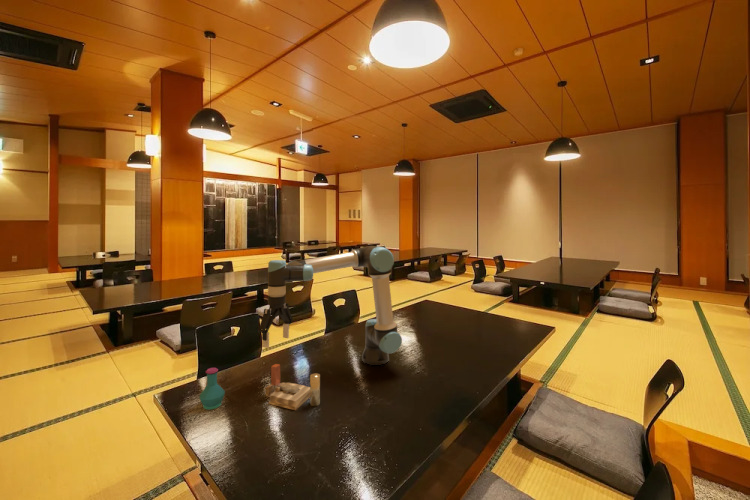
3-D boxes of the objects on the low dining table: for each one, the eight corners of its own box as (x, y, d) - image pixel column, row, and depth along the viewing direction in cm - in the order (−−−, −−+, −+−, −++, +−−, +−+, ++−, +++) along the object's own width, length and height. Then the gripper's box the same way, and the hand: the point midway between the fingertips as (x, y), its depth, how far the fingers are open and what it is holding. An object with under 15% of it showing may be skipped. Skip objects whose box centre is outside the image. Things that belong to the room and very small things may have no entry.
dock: (312, 394, 142) (312, 383, 141) (295, 410, 129) (295, 398, 129) (277, 387, 148) (277, 376, 148) (258, 401, 136) (258, 389, 135)
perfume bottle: (217, 396, 139) (216, 362, 138) (229, 403, 133) (229, 368, 132) (195, 406, 131) (194, 370, 130) (207, 414, 126) (206, 376, 125)
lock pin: (299, 390, 138) (299, 368, 137) (295, 393, 135) (295, 371, 134) (275, 384, 142) (275, 363, 141) (271, 388, 139) (271, 366, 139)
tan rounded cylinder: (321, 401, 136) (321, 374, 135) (316, 406, 132) (316, 378, 132) (313, 400, 137) (313, 372, 137) (308, 404, 134) (308, 376, 133)
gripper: (287, 289, 156) (286, 333, 157) (249, 299, 132) (249, 350, 134) (300, 291, 153) (299, 335, 154) (264, 301, 130) (263, 353, 131)
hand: (276, 342), depth 144 cm, fingers open, 13 cm apart
